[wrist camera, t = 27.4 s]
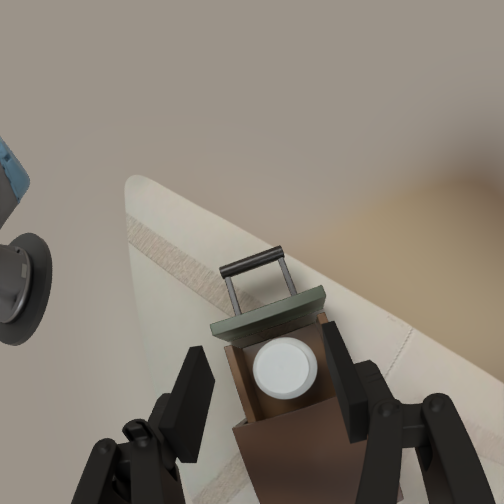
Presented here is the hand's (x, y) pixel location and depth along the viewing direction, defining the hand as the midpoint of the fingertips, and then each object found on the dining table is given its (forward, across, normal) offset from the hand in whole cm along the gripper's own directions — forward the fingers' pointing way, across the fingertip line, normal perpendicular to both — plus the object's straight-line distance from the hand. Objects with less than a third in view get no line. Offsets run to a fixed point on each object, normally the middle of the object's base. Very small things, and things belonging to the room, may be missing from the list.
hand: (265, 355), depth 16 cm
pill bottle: (+11, +1, -10) cm, 15 cm away
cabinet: (+6, +2, -19) cm, 20 cm away
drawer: (+14, 0, -8) cm, 16 cm away
